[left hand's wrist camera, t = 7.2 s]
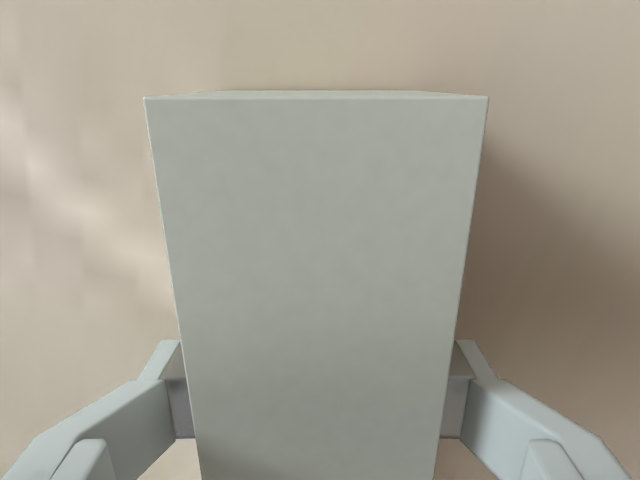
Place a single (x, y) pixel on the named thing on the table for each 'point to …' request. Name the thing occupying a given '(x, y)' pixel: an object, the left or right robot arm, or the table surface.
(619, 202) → the table surface
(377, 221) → the beam
